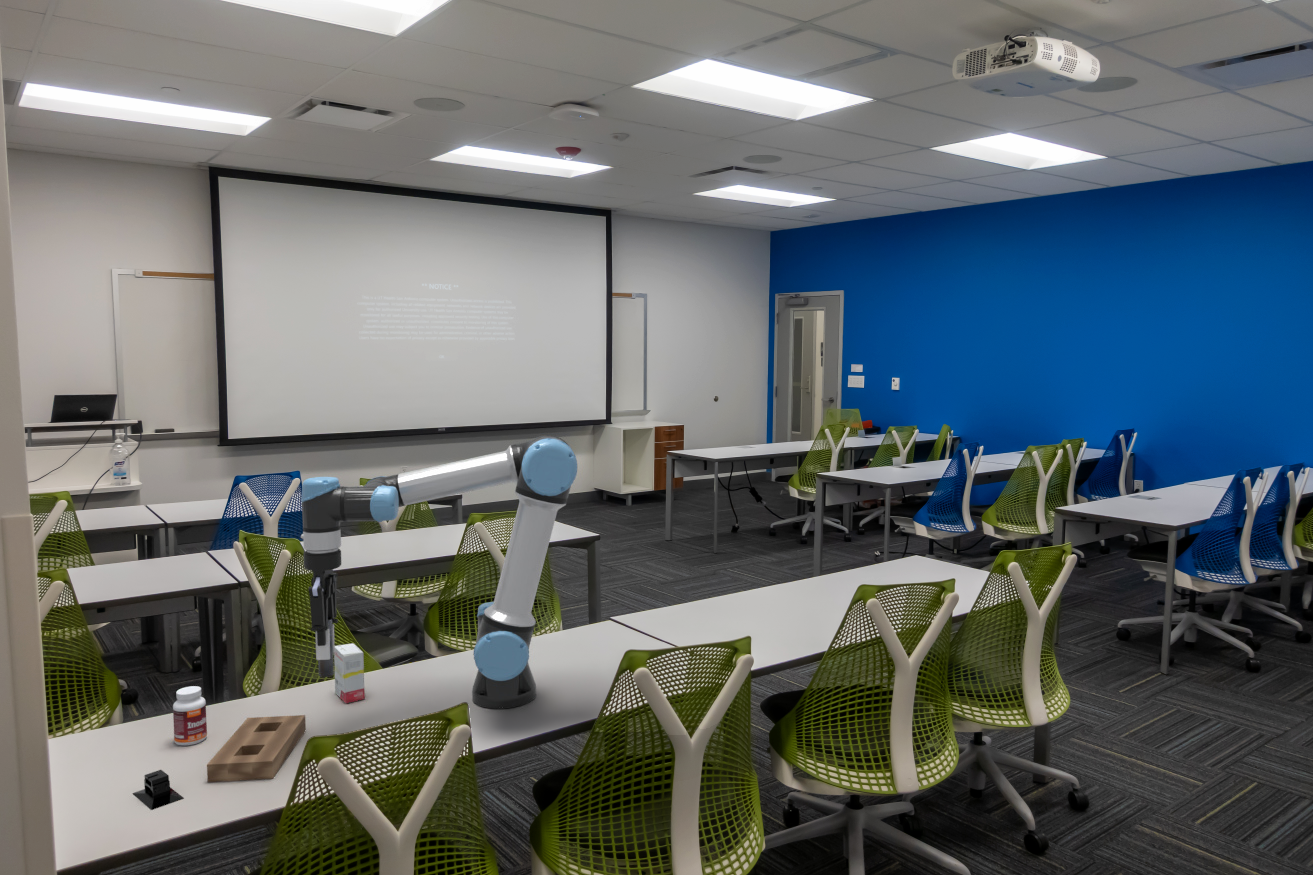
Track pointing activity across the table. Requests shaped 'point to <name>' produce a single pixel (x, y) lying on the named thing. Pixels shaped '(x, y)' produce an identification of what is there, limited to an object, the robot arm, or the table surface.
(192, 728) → the pill bottle
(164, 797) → the black stepped mount
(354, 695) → the ink box
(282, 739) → the socket block
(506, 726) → the table surface
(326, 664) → the pin
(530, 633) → the robot arm
